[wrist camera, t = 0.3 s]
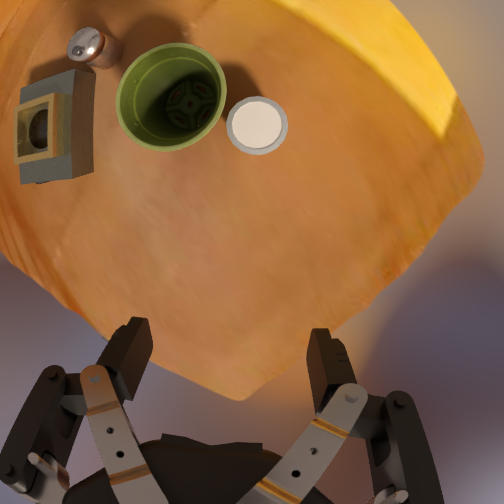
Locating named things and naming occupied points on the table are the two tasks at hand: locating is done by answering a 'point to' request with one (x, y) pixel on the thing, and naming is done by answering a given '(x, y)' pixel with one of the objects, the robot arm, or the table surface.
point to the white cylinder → (257, 125)
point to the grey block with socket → (55, 128)
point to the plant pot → (170, 96)
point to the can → (94, 48)
